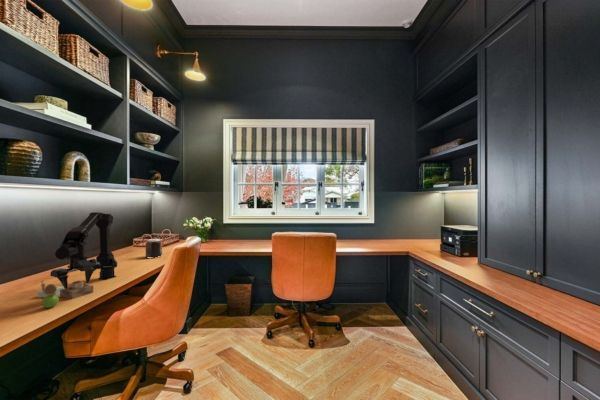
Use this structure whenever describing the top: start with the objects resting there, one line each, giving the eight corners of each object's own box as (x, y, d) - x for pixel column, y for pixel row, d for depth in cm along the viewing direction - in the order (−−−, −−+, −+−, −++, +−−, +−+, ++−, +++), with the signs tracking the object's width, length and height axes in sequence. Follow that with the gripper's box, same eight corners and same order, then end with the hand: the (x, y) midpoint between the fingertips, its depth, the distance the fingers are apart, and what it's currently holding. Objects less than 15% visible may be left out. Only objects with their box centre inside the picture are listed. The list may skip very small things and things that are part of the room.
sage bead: (51, 292, 128) (51, 286, 128) (65, 291, 128) (65, 286, 128) (37, 297, 121) (37, 291, 121) (52, 297, 121) (52, 291, 121)
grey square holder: (81, 290, 131) (81, 283, 131) (93, 292, 128) (93, 285, 128) (59, 296, 122) (60, 289, 122) (72, 299, 119) (72, 291, 119)
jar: (153, 259, 201) (153, 240, 201) (142, 258, 204) (142, 240, 204) (165, 256, 212) (165, 238, 212) (154, 255, 216) (154, 238, 216)
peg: (79, 292, 127) (79, 280, 127) (83, 293, 126) (83, 280, 126) (71, 295, 124) (71, 282, 124) (75, 296, 123) (75, 283, 123)
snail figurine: (47, 305, 112) (47, 278, 112) (62, 304, 112) (62, 278, 113) (35, 310, 107) (35, 282, 107) (51, 309, 107) (51, 282, 107)
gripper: (64, 260, 113) (65, 294, 113) (107, 252, 131) (107, 281, 131) (49, 258, 117) (49, 291, 117) (93, 250, 135) (93, 279, 135)
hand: (77, 285), depth 125 cm, fingers open, 9 cm apart
